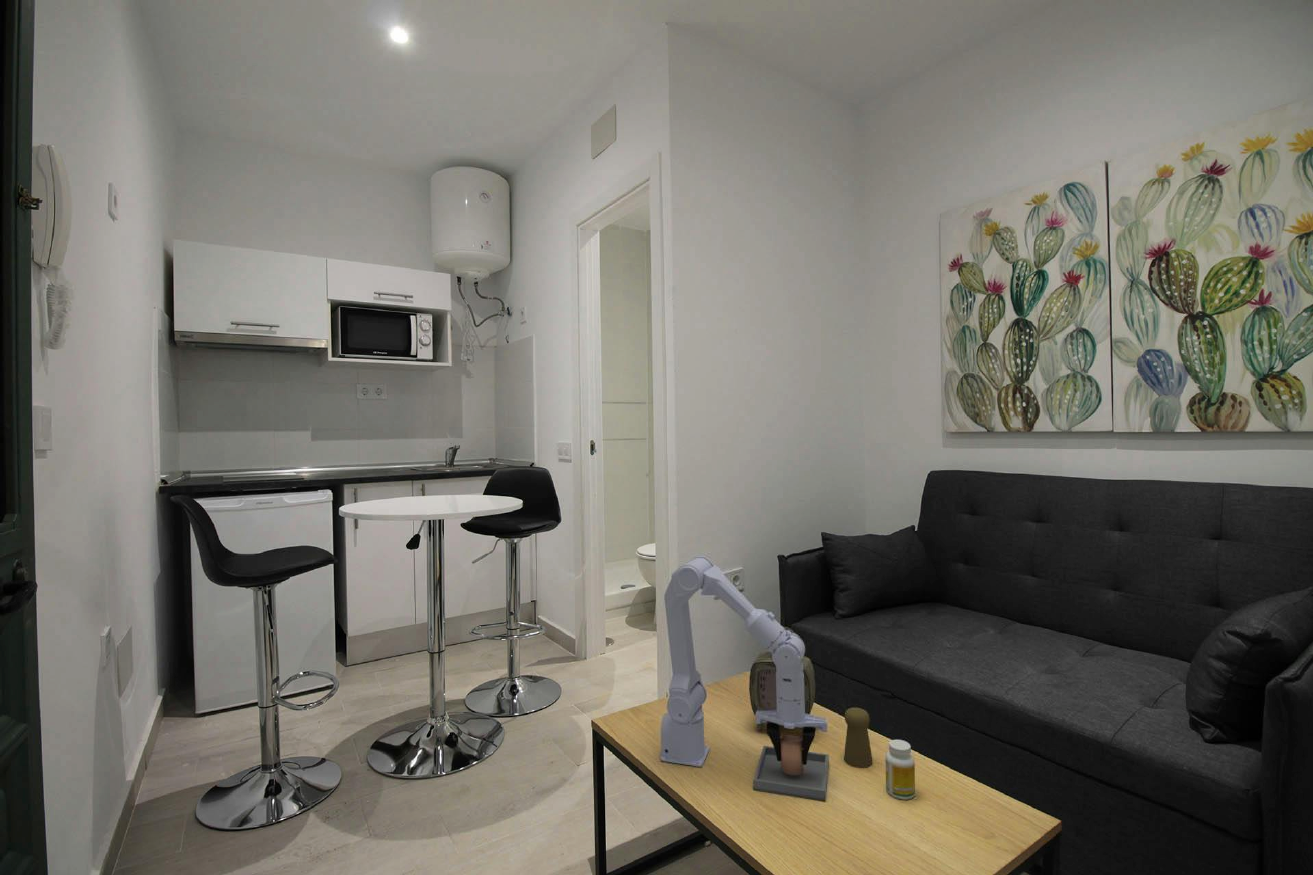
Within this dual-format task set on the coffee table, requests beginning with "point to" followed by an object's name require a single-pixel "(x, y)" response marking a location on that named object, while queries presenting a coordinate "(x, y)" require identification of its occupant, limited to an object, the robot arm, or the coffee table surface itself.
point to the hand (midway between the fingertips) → (792, 760)
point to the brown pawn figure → (857, 739)
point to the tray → (792, 776)
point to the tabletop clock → (765, 684)
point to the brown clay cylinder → (791, 754)
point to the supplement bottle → (900, 770)
